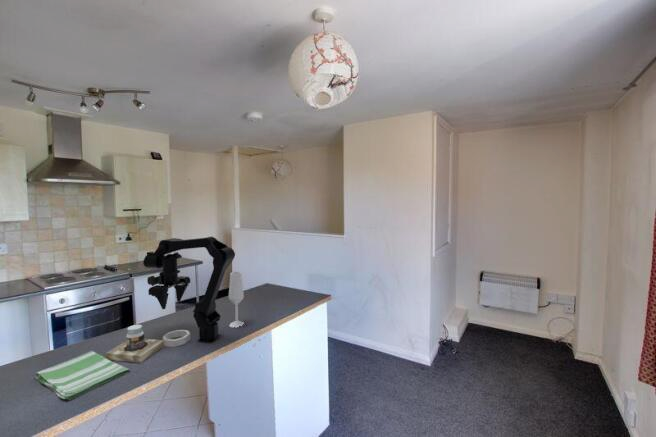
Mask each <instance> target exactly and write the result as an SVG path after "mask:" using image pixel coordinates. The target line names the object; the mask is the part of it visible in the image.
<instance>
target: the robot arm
mask: <svg viewBox="0 0 656 437" xmlns="http://www.w3.org/2000/svg"><path fill="white" fill-rule="evenodd" d="M199 248H200V249H201V248H205V250H206V251H207V252H208V255H209V256H210V257H212V258H213V259H212V265H213V270H212V271H211V272H212V273H211V276H210V278H209V282H208V284H207V288H206V290H205V293H204V296H203V298H202V299H201V300H199V301H197V302H196V303H195V306H194V310H193V311H192V313H193V318H194V320H195V323H196V325H197V328H198V330H199V332H198V334H199V339H197V341H198V342H204V343H213V342H215V341H216V340H218V338H219V337H220V336H221V334H220V333H219V321H220V320H221V316H222V315H221V314H220V313H219V312H218V311H217V310H216V307H217V304H216V299H217V296H218V293H219V290H220V287H221V285H222V282H223V279H224V276H225V273H226V270H227V269H228V268H229V267H230V266H231V264H232V262H233V260H234V259H235V256H236V252H235V251H234V249H233V248H232V247H229V246H228V245H227V244H226V243H224V242H221V240H218V239H217V238H216V237H215V236H206V237H201V238H190V239H188V238H187V239H182V238H178V237H177V238H176V237H175V238H173V237H172V238H168V239H167V238H166V239H162V240H160V241H159V243H158V246H157V247H156V249H155V250H154V251H148V252H146V255H145V257H144V259H143V261H142V262H143V266H144V267H145V268H147V269H161V271H160V272H159V275H158V276H154V275H151V276H148V277H147V281H146V282H147V284H148V285H149V286H151V287H149V289H148V291H147V292H148V295H149V296H151V297H155V298H156V299H157V302H158V303H159V305H160V307H161V309H162V310H166V307H167V303H168V299H169V298H168V297H169V289H171V288H174V289H175V296H176V302H178V303H180V302H181V300H182V298H183V295H184V294H185V291H186V289H187V288H188V286H189V284H190V283H191V277H190V276H185V275H179V273H180V274H181V270H180V269H178V259H181V258H183V256H182V255H181V254H180V253H179V252H178V251H181V250H189V249H199Z"/></svg>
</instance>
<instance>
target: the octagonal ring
mask: <svg viewBox="0 0 656 437" xmlns="http://www.w3.org/2000/svg"><path fill="white" fill-rule="evenodd" d="M178 337H179V338H178ZM162 340H164V347H169V348H176V347H178V346H182V345H186V344H187V343H188V342H190V341H191V332H190V331H189V330H188V329H176V330H173V331H172V330H171V331H169V332H167V333H166V334H164V335H162Z"/></svg>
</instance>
